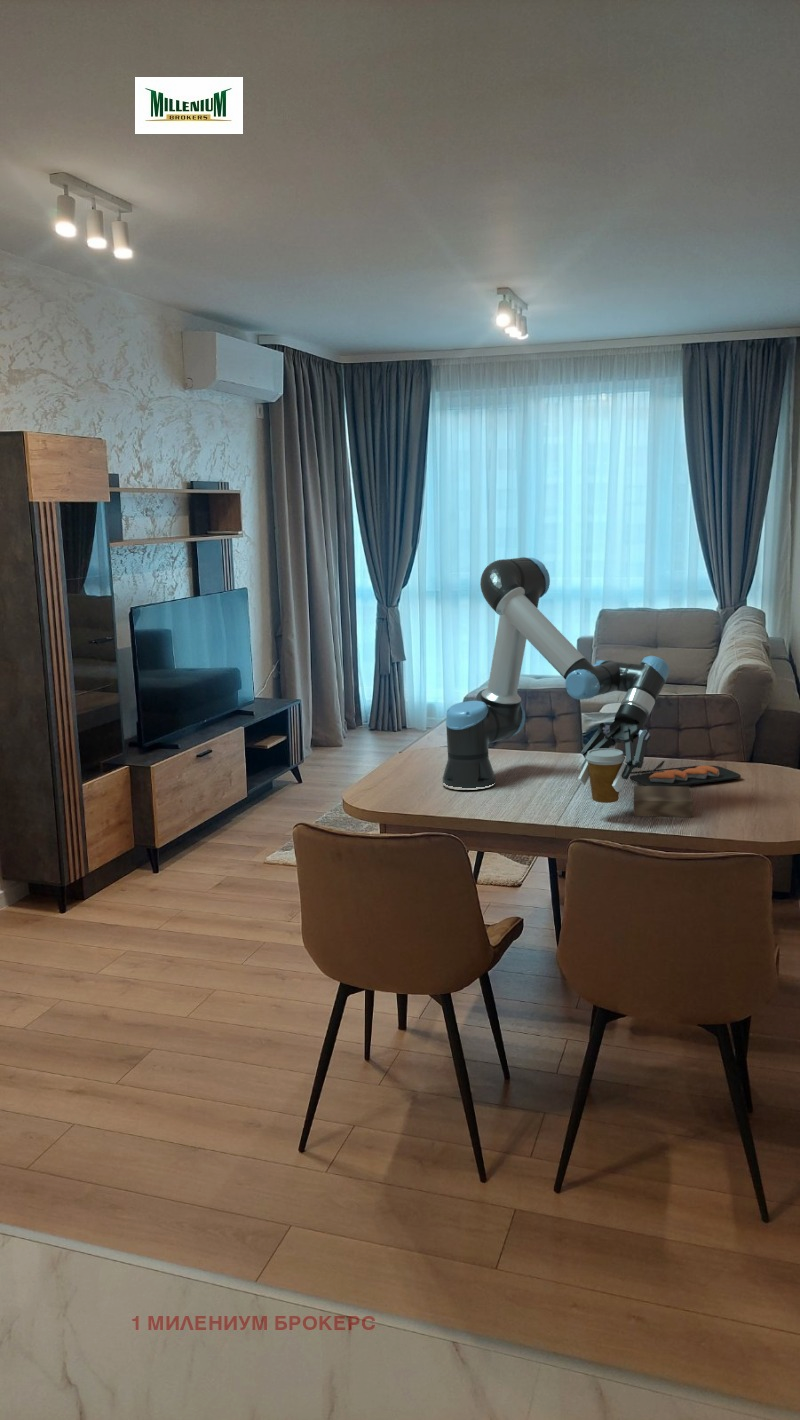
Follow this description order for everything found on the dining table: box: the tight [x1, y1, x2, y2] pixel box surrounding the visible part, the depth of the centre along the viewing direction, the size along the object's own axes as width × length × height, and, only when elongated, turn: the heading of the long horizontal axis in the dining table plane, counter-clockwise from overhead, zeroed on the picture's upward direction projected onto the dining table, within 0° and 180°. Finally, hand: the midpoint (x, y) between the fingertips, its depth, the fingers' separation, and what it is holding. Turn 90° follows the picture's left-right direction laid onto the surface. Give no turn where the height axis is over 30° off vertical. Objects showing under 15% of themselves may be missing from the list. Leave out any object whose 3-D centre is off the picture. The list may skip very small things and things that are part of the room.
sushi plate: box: [629, 760, 741, 787], centre depth 285 cm, size 29×30×4 cm
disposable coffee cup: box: [586, 747, 626, 804], centre depth 244 cm, size 10×10×12 cm
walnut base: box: [633, 785, 693, 818], centre depth 252 cm, size 14×14×4 cm
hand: (598, 785), depth 242 cm, fingers closed on disposable coffee cup, 9 cm apart
